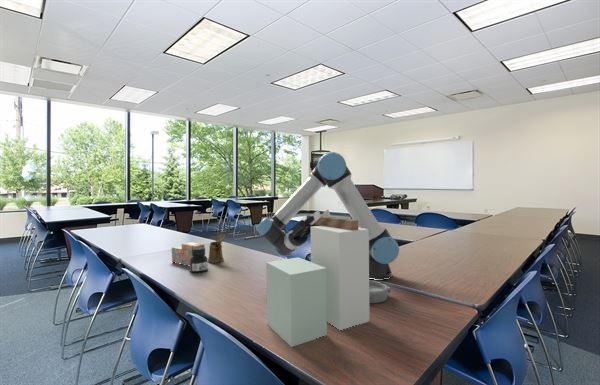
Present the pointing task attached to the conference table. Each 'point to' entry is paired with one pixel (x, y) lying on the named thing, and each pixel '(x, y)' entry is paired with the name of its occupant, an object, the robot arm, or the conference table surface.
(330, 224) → the walnut bar
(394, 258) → the robot arm
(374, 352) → the conference table surface
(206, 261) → the ink bottle
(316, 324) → the low stand
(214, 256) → the brown burlap sack
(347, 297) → the off-white rectangular block
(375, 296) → the dish
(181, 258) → the stack of blocks
